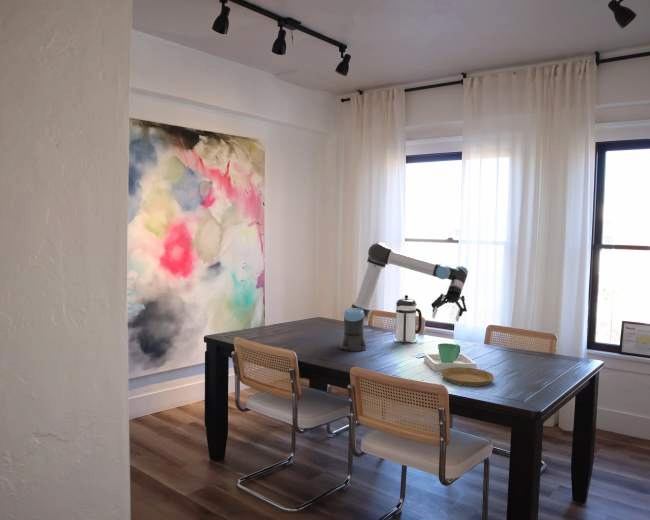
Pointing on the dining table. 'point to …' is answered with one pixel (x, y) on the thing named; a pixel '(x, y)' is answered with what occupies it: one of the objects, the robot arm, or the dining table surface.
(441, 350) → the mug
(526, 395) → the dining table surface
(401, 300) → the coffee press
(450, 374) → the plant saucer
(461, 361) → the tray
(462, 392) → the dining table surface
